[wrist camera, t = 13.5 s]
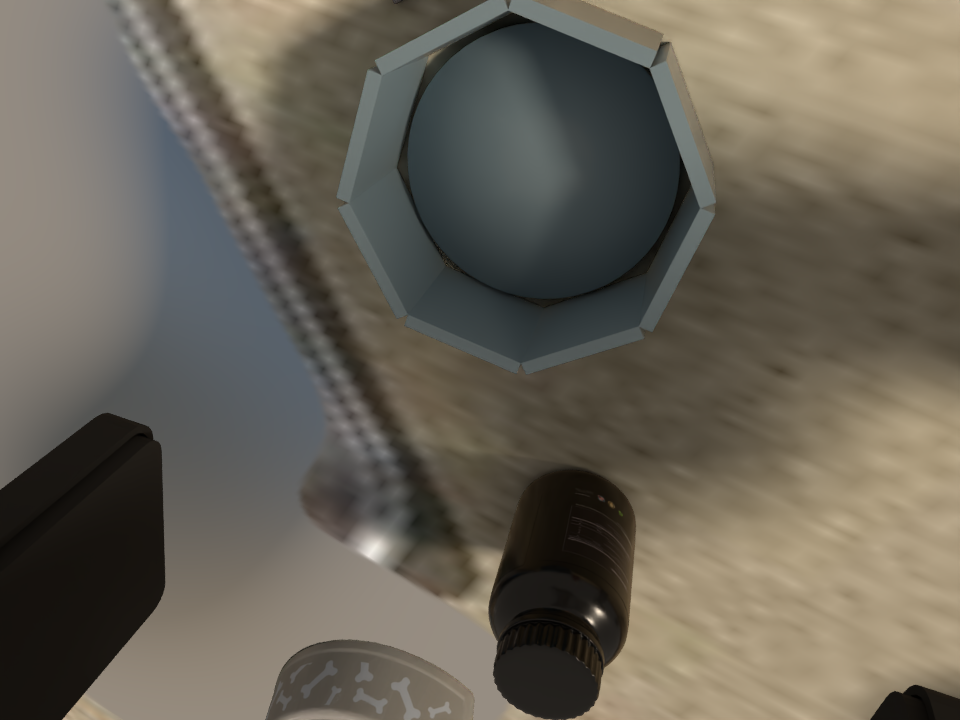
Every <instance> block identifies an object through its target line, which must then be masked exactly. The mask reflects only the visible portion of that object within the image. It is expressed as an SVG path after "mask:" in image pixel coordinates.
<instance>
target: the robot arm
mask: <svg viewBox="0 0 960 720" xmlns="http://www.w3.org/2000/svg"><path fill="white" fill-rule="evenodd" d="M164 588H165V555H164V520H163V485H162V451H161V445H160V444H159V442H157V441H155V440H153V434H152V431H151V429H150V428H149V427H147V426H145V425H143V424H139V423H137V422H134V421H131V420H128V419H125V418H122V417H119V416H116V415H113V414H110V413H104V414H101V415H99V416H97V417H95V418H94V419H93V420H91V421H90V422H89V423H87V424H86V425H85V426H84V427H82V428H81V429H80V430H78V431H77V432H76V433H74V434H73V435H72V436H70V437H69V438H68V439H66V440H65V441H64V442H63V443H61V444H60V445H59V446H57V447H56V448H55V449H53V450H52V451H51V452H49V453H48V454H47V455H46V456H44V457H43V458H42V459H40V460H39V461H38V462H36V463H35V464H34V465H32V466H31V467H30V468H28V469H27V470H26V471H24V472H23V473H22V474H21V475H19V476H18V477H17V478H15V479H14V480H13V481H11V482H10V483H9V484H7V485H6V486H5V487H4V488H2V489H1V490H0V720H62V719H63V718H64V717H65V716H66V714H67V713H68V712H69V711H70V710H71V708H72V707H73V706H74V705H75V704H76V702H77V701H78V700H79V699H80V698H81V697H82V695H83V694H84V693H85V692H86V691H87V689H88V688H89V687H90V686H91V685H92V683H93V682H94V681H95V680H96V679H97V678H98V676H99V675H100V674H101V673H102V671H103V670H104V669H105V668H106V667H107V666H108V664H109V663H110V662H111V661H112V660H113V659H114V657H115V656H116V655H117V654H118V653H119V651H120V650H121V649H122V647H124V645H125V644H126V643H127V642H128V641H129V640H130V638H131V637H132V636H133V635H134V634H135V632H136V631H137V630H138V629H139V628H140V626H141V625H142V624H143V623H144V622H145V620H146V619H147V618H148V617H149V616H150V615H151V613H152V612H153V611H154V610H155V608H156V607H157V605H158V603H159V601H160V600H161V597H162V595H163V591H164ZM870 720H960V699H958V698H955V697H952V696H949V695H946V694H943V693H940V692H937V691H934V690H931V689H928V688H925V687H922V686H919V685H913V686H911V687H909V688H908V689H907V690H906V691H905V692H904V693H903V694H902V693H899V692H896V691H894V692H892V693H890V694H889V695H888V696H887V697H886V699H885V700H884V701H883V703H882V704H881V706H880V707H879V708H878V710H877V711H876V712H875V714H874V715H873V717H872V718H871V719H870Z"/></svg>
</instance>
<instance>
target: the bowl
mask: <svg viewBox="0 0 960 720" xmlns="http://www.w3.org/2000/svg"><path fill="white" fill-rule="evenodd" d="M511 13H516V14H518V15H520V16H523V17H525V18H528V19H530V20H533V21H535V22H529V23H521V24H516V25H512V26H509V27H505V28H501V29H499V30H496V31H494V32H492V33H489V34H487V35H485V36H482V37H480V38H478V39H477V40H475V41H473V42H472V43H470V44H468V45H467V46H465V47H464V48H462V49H461V50H460V51H459V52H458V53H456V54H455V55H454V56H453V57H451V58H450V59H449V60H448V61H447V62H446V63H445V65H444V66H443V67H442V68H441V69H440V70H439V71H438V72H437V73H436V75H435V76H434V78H433V79H432V81H431V82H430V83H429V85H428V86H427V88H426V90H425V92H424V94H423V96H422V98H421V100H420V102H419V104H418V106H417V109H416V112H415V115H414V118H413V121H412V125H411V130H410V135H409V143H408V154H407V155H408V174H409V180H410V187H411V191H412V194H413V198H414V201H415V203H414V201H413V199H412V197H411V195H410V193H409V191H408V189H407V187H406V185H405V183H404V181H403V179H402V177H401V175H400V172H399V170H398V168H397V165H398V162H399V158H400V155H401V151H402V148H403V144H404V141H405V137H406V134H407V130H408V127H409V123H410V120H411V116H412V113H413V109H414V106H415V103H416V99H417V96H418V92H419V89H420V85H421V82H422V78H423V75H424V71H425V68H426V64H427V61H428V57H429V56H430V55H432V54H434V53H436V52H437V51H439V50H441V49H443V48H445V47H447V46H449V45H451V44H453V43H455V42H457V41H459V40H461V39H463V38H465V37H467V36H469V35H470V34H472V33H474V32H476V31H478V30H480V29H482V28H484V27H486V26H488V25H490V24H492V23H494V22H496V21H498V20H500V19H502V18H503V17H505V16H507V15H509V14H511ZM662 37H663V34H662V33H660V32H658V31H655V30H653V29H650V28H648V27H645V26H643V25H640V24H638V23H635V22H633V21H631V20H628V19H626V18H623V17H621V16H618V15H616V14H613V13H611V12H608V11H606V10H604V9H601V8H599V7H596V6H594V5H591V4H589V3H586V2H584V1H582V0H488V1H486V2H484V3H482V4H480V5H478V6H476V7H474V8H473V9H471V10H469V11H467V12H465V13H463V14H461V15H459V16H457V17H456V18H454V19H452V20H450V21H448V22H446V23H444V24H442V25H440V26H439V27H437V28H435V29H433V30H431V31H429V32H427V33H425V34H423V35H422V36H420V37H418V38H416V39H414V40H412V41H410V42H408V43H406V44H405V45H403V46H401V47H399V48H397V49H395V50H393V51H391V52H389V53H388V54H386V55H384V56H382V57H380V58H378V59H376V60H375V62H376V64H377V66H375V67H373V68H370V69H368V71H367V75H366V79H365V83H364V87H363V91H362V95H361V99H360V103H359V107H358V111H357V115H356V119H355V123H354V127H353V131H352V136H351V140H350V144H349V148H348V152H347V156H346V160H345V164H344V168H343V172H342V176H341V180H340V184H339V188H338V192H337V196H336V198H338V199H340V200H343V201H345V203H344V204H342V205H341V206H340V207H338V210H339V212H340V213H341V215H342V217H343V219H344V221H345V223H346V225H347V227H348V228H349V230H350V232H351V234H352V236H353V238H354V240H355V242H356V243H357V245H358V247H359V249H360V251H361V253H362V255H363V257H364V258H365V260H366V262H367V264H368V266H369V268H370V270H371V272H372V273H373V275H374V277H375V279H376V281H377V283H378V285H379V287H380V288H381V290H382V292H383V294H384V296H385V298H386V300H387V302H388V303H389V305H390V307H391V309H392V311H393V313H394V315H395V317H396V318H397V319H398V318H401V317H403V316H406V315H408V316H407V319H406V322H405V325H404V326H406V327H408V328H411V329H413V330H415V331H418V332H420V333H422V334H425V335H427V336H429V337H431V338H434V339H436V340H438V341H441V342H443V343H445V344H448V345H450V346H452V347H455V348H457V349H459V350H462V351H464V352H466V353H469V354H471V355H473V356H475V357H478V358H480V359H482V360H485V361H487V362H489V363H492V364H494V365H496V366H499V367H501V368H503V369H506V370H508V371H510V372H512V373H515V374H517V371H518V369H519V367H520V364H521V365H522V367H523V369H524V371H525V373H526V375H527V374H531V373H534V372H537V371H540V370H544V369H547V368H550V367H553V366H557V365H560V364H563V363H567V362H570V361H573V360H576V359H580V358H583V357H586V356H589V355H593V354H596V353H599V352H603V351H606V350H609V349H612V348H616V347H619V346H622V345H625V344H629V343H632V342H635V341H639V340H642V339H644V336H645V329H646V330H648V331H650V332H653V330H654V328H655V326H656V324H657V323H658V321H659V319H660V317H661V315H662V313H663V311H664V309H665V308H666V306H667V304H668V302H669V300H670V298H671V296H672V294H673V293H674V291H675V289H676V287H677V285H678V283H679V281H680V279H681V278H682V276H683V274H684V272H685V270H686V268H687V266H688V264H689V263H690V261H691V259H692V257H693V255H694V253H695V251H696V249H697V248H698V246H699V244H700V242H701V240H702V238H703V236H704V234H705V233H706V231H707V229H708V227H709V225H710V223H711V221H712V219H713V218H714V216H715V204H714V203H716V193H715V180H714V167H713V161H712V158H711V155H710V153H709V150H708V147H707V144H706V141H705V138H704V135H703V132H702V130H701V127H700V124H699V121H698V118H697V115H696V112H695V109H694V106H693V104H692V101H691V98H690V95H689V92H688V89H687V86H686V83H685V81H684V78H683V75H682V72H681V69H680V66H679V63H678V60H677V58H676V55H675V52H674V49H673V46H672V43H671V42H670V43H668V44H665V45H663V46H661V47H659V45H660V43H661V40H662ZM644 66H645V67H647V68H650V71H651V74H652V75H651V74H650V73H649V72H648V71H647V69H646V68H645V67H644ZM652 76H653V77H652ZM680 154H681V157H682V159H683V162H684V165H685V168H686V171H687V173H688V176H689V179H690V182H691V186H690V188H689V190H688V192H687V194H686V196H685V198H684V200H683V202H682V204H681V206H680V208H679V210H678V212H677V214H676V216H675V218H674V220H673V222H672V224H671V226H670V228H669V230H668V232H667V234H666V236H665V238H664V240H663V242H662V244H661V246H660V248H659V250H658V252H657V254H656V256H655V258H654V260H653V262H652V264H651V266H650V268H649V270H648V272H647V273H645V274H642V275H639V276H636V277H633V278H630V279H627V280H625V281H622V282H619V283H616V284H613V285H610V286H607V287H604V288H601V289H598V288H600V287H603V286H605V285H607V284H609V283H610V282H612V281H614V280H616V279H617V278H619V277H621V276H622V275H623V274H625V273H626V272H627V271H629V270H630V269H631V268H633V267H634V266H635V265H636V264H637V263H638V262H639V261H640V260H641V259H642V258H643V257H644V256H645V255H646V254H647V252H648V251H649V250H650V249H651V247H652V246H653V245H654V243H655V242H656V241H657V239H658V237H659V236H660V234H661V232H662V231H663V229H664V227H665V226H666V223H667V221H668V218H669V216H670V214H671V211H672V209H673V205H674V201H675V198H676V194H677V189H678V182H679V174H680ZM432 238H433V239H434V241H435V242H436V243H437V245H438V246H439V247H440V249H441V250H442V251H443V252H444V253H445V254H446V255H447V256H448V257H449V258H450V259H451V260H452V261H453V262H454V263H455V264H456V265H458V266H459V267H460V268H461V269H462V270H463V271H465V272H466V273H468V274H469V275H471V276H472V277H471V276H468V275H466V274H464V273H461V272H459V271H456V270H454V269H452V268H449V267H447V266H446V265H445V263H444V261H443V259H442V257H441V255H440V253H439V251H438V249H437V247H436V245H435V243H434V241H433V239H432ZM473 277H474V278H473ZM595 289H598V290H595ZM593 290H595V291H593ZM591 291H592V292H591ZM587 292H589V293H587ZM584 293H586V294H584ZM580 294H583V295H580ZM515 295H518V296H522V297H529V298H538V299H557V298H564V297H572V296H576V295H580V296H577V297H575V298H572V299H569V300H566V301H563V302H560V303H557V304H554V305H551V306H548V307H545V308H543V307H541V306H538V305H536V304H534V303H531V302H529V301H527V300H524V299H522V298H520V297H517V296H515Z"/></svg>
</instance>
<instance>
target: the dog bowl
mask: <svg viewBox="0 0 960 720" xmlns="http://www.w3.org/2000/svg"><path fill="white" fill-rule="evenodd" d="M473 709H474V696H473V693H472V692H471V691H470V690H469V689H468V688H467V687H466V686H464V685H463V684H462V683H461V682H460V681H459V680H457V679H456V678H454V677H453V676H451V675H450V674H449V673H447V672H446V671H444V670H443V669H441V668H439V667H437V666H436V665H434V664H432V663H430V662H428V661H426V660H424V659H422V658H420V657H418V656H415V655H413V654H410V653H408V652H406V651H403V650H400V649H397V648H394V647H391V646H387V645H383V644H379V643H376V642H369V641H360V640H351V639H349V640H343V639H342V640H331V641H326V642H319V643H316V644H313V645H310V646H308V647H305V648H303V649H302V650H300V651H298V652H297V653H296V654H294V655H293V656H292V657H291V658H290V659H289V660H288V661H287V662H286V664H285V665H284V666H283V668H282V670H281V672H280V674H279V676H278V680H277V683H276V686H275V690H274V695H273V698H272V701H271V704H270V707H269V710H268V713H267V716H266V719H265V720H473Z"/></svg>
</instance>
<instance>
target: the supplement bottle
mask: <svg viewBox="0 0 960 720" xmlns="http://www.w3.org/2000/svg"><path fill="white" fill-rule="evenodd" d="M635 534H636V521H635V515H634V512H633V509H632V506H631V505H630V503H629V501H628V499H627V498H626V496H625V495H624V494H623V493H622V492H621V491H620V490H619V489H618V488H617V487H616V486H615V485H613V484H612V483H611V482H609V481H608V480H606V479H604V478H602V477H600V476H598V475H595V474H592V473H589V472H584V471H578V470H562V471H556V472H552V473H549V474H546V475H544V476H542V477H540V478H538V479H537V480H535V481H534V482H533V483H531V484H530V485H529V486H528V487H527V488H526V490H525V491H524V492H523V494H522V496H521V498H520V500H519V502H518V506H517V509H516V512H515V515H514V518H513V522H512V525H511V528H510V532H509V535H508V539H507V542H506V545H505V549H504V552H503V556H502V559H501V562H500V566H499V569H498V572H497V576H496V579H495V583H494V586H493V589H492V593H491V597H490V601H489V611H488V613H489V621H490V625H491V628H492V631H493V634H494V636H495V638H496V640H497V641H498V643H497V655H496V658H495V662H494V671H493V676H494V678H495V680H494V681H495V684H496V685H497V689H498V690H499V691H500V692H501V693H502V696H503V697H504V698H505V699H507V701H508V702H509V703H510V704H512V705H514V706H515V707H516V708H517V709H519V710H522V711H523V712H524V713H526V714H531V715H533V716H534V717H541V718H543V719H552V720H559V719H561V720H566V719H569V718H575V717H577V716H581V715H583V714H584V712H587V711H589V710H590V707H592V706H594V704H595V701H596V700H597V699H598V696H599V690H600V685H601V677H602V675H603V670H604V668H605V667H606V666H608V665H609V664H610V663H611V662H612V661H613V660H614V659H615V658H616V657H617V656H618V654H619V653H620V652H621V650H622V648H623V646H624V644H625V642H626V638H627V633H628V626H629V614H630V602H631V589H632V576H633V563H634V550H635Z"/></svg>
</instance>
